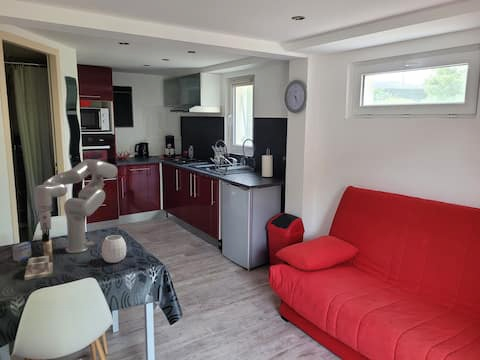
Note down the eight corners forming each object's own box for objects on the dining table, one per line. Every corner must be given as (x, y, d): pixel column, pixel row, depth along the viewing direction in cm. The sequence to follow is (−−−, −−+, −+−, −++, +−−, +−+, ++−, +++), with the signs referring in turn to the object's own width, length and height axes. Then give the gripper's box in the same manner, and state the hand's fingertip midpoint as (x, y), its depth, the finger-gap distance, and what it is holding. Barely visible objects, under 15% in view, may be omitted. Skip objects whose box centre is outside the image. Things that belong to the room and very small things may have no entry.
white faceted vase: (123, 265, 194) (122, 241, 191) (98, 265, 193) (97, 241, 190) (129, 255, 207) (128, 233, 204) (106, 255, 206) (105, 233, 203)
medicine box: (19, 262, 193) (17, 247, 191) (13, 260, 194) (11, 245, 193) (32, 256, 200) (30, 242, 199) (26, 255, 202) (24, 241, 200)
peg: (52, 259, 197) (51, 236, 194) (52, 262, 194) (51, 238, 191) (44, 261, 195) (42, 237, 193) (44, 263, 192) (42, 239, 189)
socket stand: (52, 264, 191) (51, 253, 190) (52, 275, 179) (51, 263, 178) (26, 268, 186) (25, 257, 184) (24, 280, 173) (23, 267, 172)
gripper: (52, 211, 183) (53, 243, 185) (52, 203, 198) (54, 233, 201) (35, 212, 179) (37, 244, 182) (37, 204, 194) (38, 234, 197)
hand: (45, 238), depth 191 cm, fingers open, 9 cm apart
